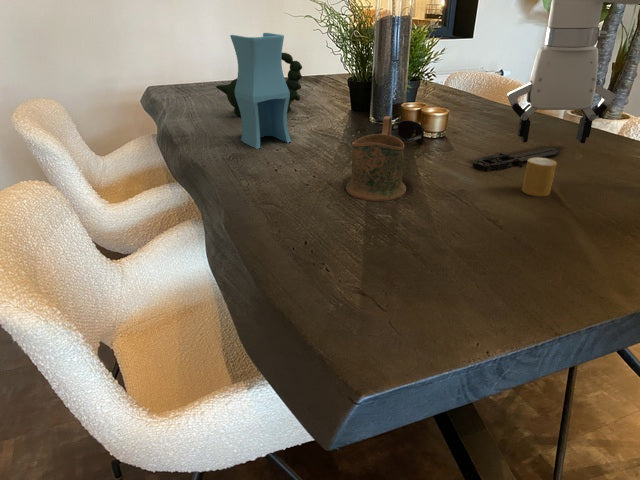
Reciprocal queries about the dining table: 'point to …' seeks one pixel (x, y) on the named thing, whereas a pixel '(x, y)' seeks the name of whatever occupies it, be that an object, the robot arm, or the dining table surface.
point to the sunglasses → (409, 131)
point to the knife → (510, 159)
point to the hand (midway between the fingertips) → (551, 140)
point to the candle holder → (539, 176)
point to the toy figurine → (291, 83)
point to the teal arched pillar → (261, 88)
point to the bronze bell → (377, 166)
